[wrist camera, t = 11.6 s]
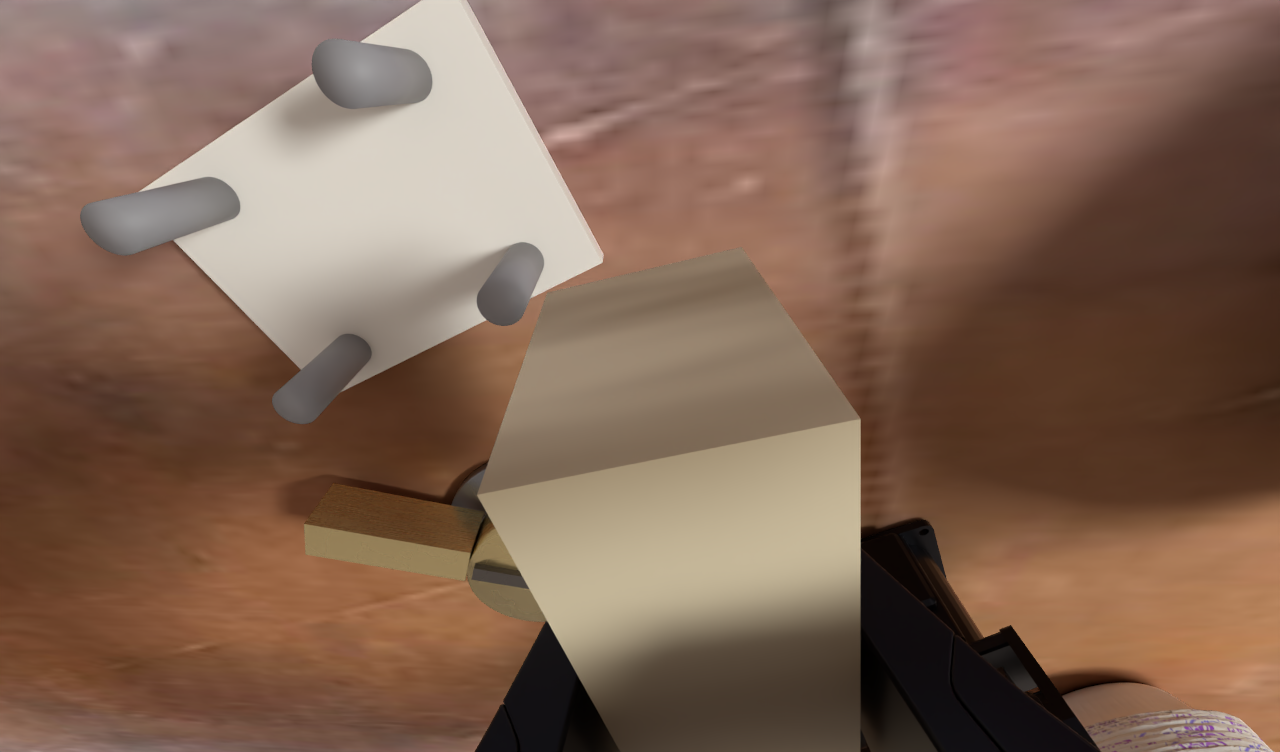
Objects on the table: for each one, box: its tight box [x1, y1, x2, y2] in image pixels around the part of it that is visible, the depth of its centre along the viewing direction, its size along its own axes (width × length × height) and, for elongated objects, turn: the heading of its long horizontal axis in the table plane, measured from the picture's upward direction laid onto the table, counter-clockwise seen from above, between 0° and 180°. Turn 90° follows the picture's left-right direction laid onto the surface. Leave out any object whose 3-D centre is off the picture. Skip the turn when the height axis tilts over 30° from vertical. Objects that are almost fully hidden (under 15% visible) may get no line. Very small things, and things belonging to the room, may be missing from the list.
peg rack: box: [80, 0, 604, 424], centre depth 16 cm, size 13×9×5 cm
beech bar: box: [477, 247, 861, 752], centre depth 9 cm, size 10×4×5 cm, turn 13°
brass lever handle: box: [304, 483, 546, 622], centre depth 24 cm, size 14×7×3 cm, turn 73°
